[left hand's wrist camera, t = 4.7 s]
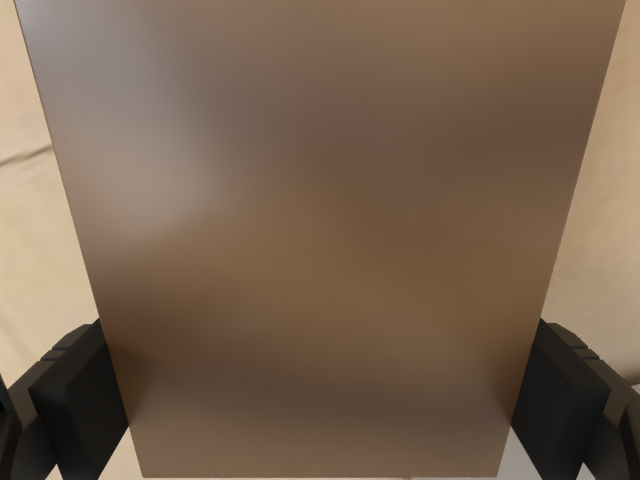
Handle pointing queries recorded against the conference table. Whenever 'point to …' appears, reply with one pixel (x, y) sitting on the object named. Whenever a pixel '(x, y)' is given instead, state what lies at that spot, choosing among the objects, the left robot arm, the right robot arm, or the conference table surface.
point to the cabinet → (319, 217)
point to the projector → (521, 462)
